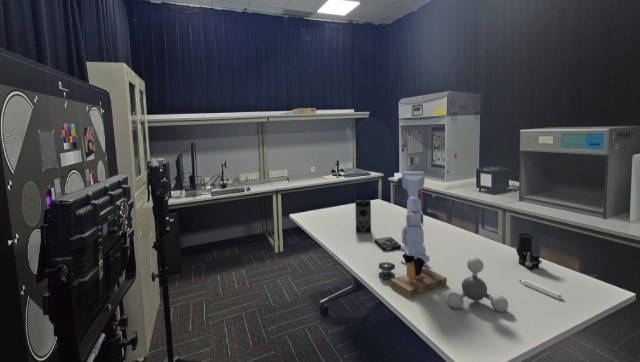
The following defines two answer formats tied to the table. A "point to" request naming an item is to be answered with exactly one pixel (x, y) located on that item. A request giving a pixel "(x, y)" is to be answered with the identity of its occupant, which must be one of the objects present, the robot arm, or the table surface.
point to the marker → (541, 289)
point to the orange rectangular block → (412, 271)
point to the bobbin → (386, 271)
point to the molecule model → (476, 289)
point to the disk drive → (387, 244)
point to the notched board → (418, 283)
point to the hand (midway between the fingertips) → (414, 272)
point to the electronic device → (363, 216)
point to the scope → (527, 252)
